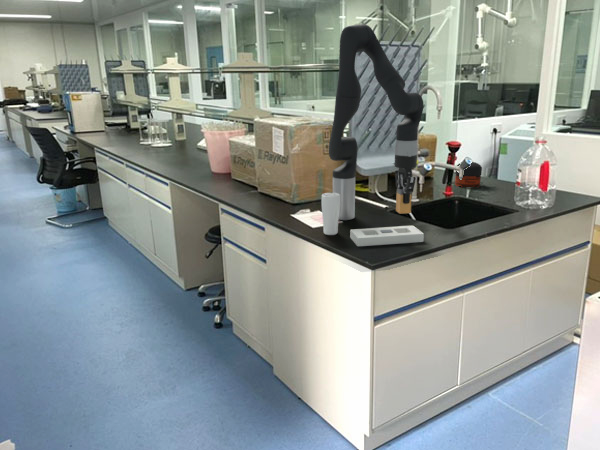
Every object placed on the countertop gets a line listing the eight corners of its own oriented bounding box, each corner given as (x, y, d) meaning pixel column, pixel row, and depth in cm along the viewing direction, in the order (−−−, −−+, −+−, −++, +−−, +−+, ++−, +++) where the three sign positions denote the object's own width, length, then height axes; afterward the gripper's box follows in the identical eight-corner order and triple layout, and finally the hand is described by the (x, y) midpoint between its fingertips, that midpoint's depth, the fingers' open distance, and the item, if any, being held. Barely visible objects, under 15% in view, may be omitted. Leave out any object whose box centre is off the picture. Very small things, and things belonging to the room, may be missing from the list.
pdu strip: (350, 237, 174) (350, 228, 173) (412, 233, 178) (413, 224, 177) (357, 246, 165) (357, 237, 164) (423, 241, 168) (423, 232, 167)
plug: (395, 210, 171) (396, 189, 169) (406, 210, 171) (407, 188, 169) (399, 213, 167) (400, 191, 165) (410, 213, 168) (411, 190, 165)
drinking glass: (338, 230, 182) (338, 192, 178) (340, 236, 176) (340, 196, 172) (320, 230, 182) (320, 192, 178) (322, 236, 176) (322, 197, 171)
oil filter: (470, 182, 261) (449, 184, 258) (472, 159, 258) (451, 161, 254) (485, 186, 249) (464, 188, 246) (487, 163, 246) (466, 165, 242)
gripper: (388, 150, 169) (386, 197, 174) (403, 156, 156) (400, 207, 161) (408, 150, 170) (406, 196, 175) (424, 155, 157) (421, 206, 162)
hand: (403, 201), depth 168 cm, fingers closed on plug, 4 cm apart
